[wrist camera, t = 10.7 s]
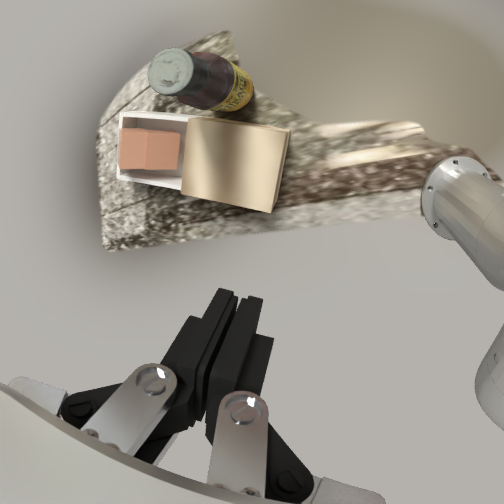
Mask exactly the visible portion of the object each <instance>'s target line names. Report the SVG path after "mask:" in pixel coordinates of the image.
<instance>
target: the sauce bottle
mask: <svg viewBox="0 0 504 504" xmlns="http://www.w3.org/2000/svg"><path fill="white" fill-rule="evenodd" d="M148 80H149V84H150V85H151V87H152V89H154V90H155V91H156V92H158V93H160V94H162V95H166V96H172V97H173V96H177V98H178V101H179V102H181V103H183V104H186V105H189V106H191V107H194V108H197V109H200V110H211V111H229V112H230V111H235V110H238V109H240V108H242V107H244V106H245V105H246V104H247V103H249V101H250V99H251V97H252V94H253V91H254V87H253V83H252V80H251V78H250V76H249V75H248V74H247V73H246V72H245V71H244V70H242V69H241V68H239V67H237V66H236V65H234V64H233V63H231V62H230V61H228V60H226V59H225V58H223V57H220V56H219V55H216V54H214V53H210V52H195V53H192V54H191V53H190V52H188V51H186V50H183V49H180V48H168V49H166V50H163V51H162V52H160V53H158V54H157V55H156V56H155V57H154V59H153V60H152V62H151V63H150V65H149V68H148Z"/></svg>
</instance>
